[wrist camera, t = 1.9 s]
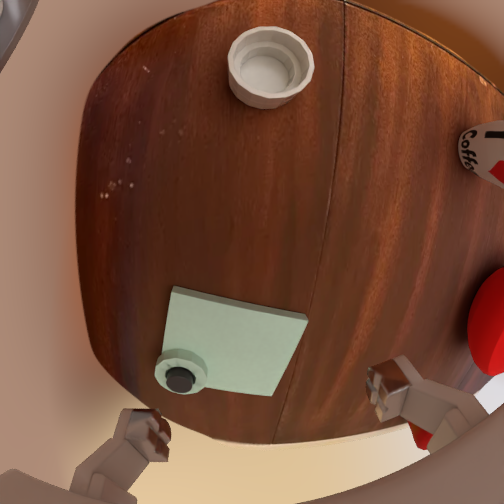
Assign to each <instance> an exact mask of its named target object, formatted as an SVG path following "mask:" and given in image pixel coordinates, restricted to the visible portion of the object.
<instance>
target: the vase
mask: <svg viewBox="0 0 504 504" xmlns="http://www.w3.org/2000/svg"><path fill="white" fill-rule="evenodd" d="M467 333H468V344H469V348H470V351H471V354H472V357H473V360H474V362H475V364H476V365H477V366H478V367H479V368H480V370H481V371H482V372H483V373H485V374H487V375H490V376H495V375H498V374H500V373H503V372H504V267H502V268H500V269H498V270H497V271H495V272H494V273H493V274H492V275H490V276H489V277H488V278H487V279H486V280H485V281H484V282H483V284H482V285H481V287H480V288H479V290H478V291H477V293H476V295H475V297H474V299H473V302H472V304H471V308H470V311H469V317H468V324H467Z"/></svg>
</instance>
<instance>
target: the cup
mask: <svg viewBox="0 0 504 504" xmlns="http://www.w3.org/2000/svg"><path fill="white" fill-rule="evenodd" d="M458 151H459V156H460V159H461V162H462V164H463V165H464V167H465V168H467V169H468V170H470V171H471V172H473V173H474V174H476V175H477V176H479V177H480V178H483V179H485V180H487V181H489V182H491V183H493V184H495V185H497V186H499V187H501V188H504V120H502V121H494V122H489V123H485V124H481V125H477V126H475V127H473V128H470V129H468V130H466V131H464V132H463V133H462V134H461V136H460V138H459V143H458Z"/></svg>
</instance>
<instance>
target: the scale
mask: <svg viewBox="0 0 504 504" xmlns="http://www.w3.org/2000/svg"><path fill="white" fill-rule="evenodd" d="M307 323H308V319H307V317H306V315H305V314H302V313H297V312H291V311H286V310H281V309H276V308H271V307H266V306H261V305H256V304H252V303H247V302H242V301H238V300H233V299H229V298H224V297H220V296H215V295H211V294H207V293H203V292H198V291H194V290H190V289H186V288H182V287H178V286H173V289H172V292H171V297H170V302H169V308H168V314H167V321H166V327H165V334H164V341H163V348H162V355H161V356H159V357H158V360H157V363H156V367H155V377H156V379H157V381H158V382H159V384H160V385H161V386H163V387H164V388H166V389H168V390H169V391H171V392H174V391H172V390H170V389H169V388H168V386H167V384H166V381H167V376H168V372H169V370H170V369H171V368H173V367H184V368H186V369H188V370H189V371H191V373H192V374H193V385H192V389H191V390H190V391H189V392H187V393H180V394H191V393H197V392H198V391H200V390H201V389H203V388H204V387H208V388H214V389H220V390H226V391H232V392H239V393H247V394H255V395H264V396H272V394H273V392H274V391H275V389H276V387H277V385H278V383H279V381H280V379H281V377H282V375H283V373H284V371H285V369H286V367H287V365H288V363H289V361H290V359H291V357H292V355H293V353H294V351H295V349H296V347H297V345H298V342H299V340H300V338H301V336H302V334H303V332H304V330H305V327H306V325H307ZM175 393H177V392H175Z"/></svg>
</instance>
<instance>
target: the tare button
mask: <svg viewBox="0 0 504 504" xmlns="http://www.w3.org/2000/svg"><path fill="white" fill-rule="evenodd" d="M166 384H167V386H168V388H169V389H170V390H172V391H174V392H177V393H187V392H189V391H190V390H191V389H192V385H193V374H192V373H191V371H189V370H188V369H186V368H184V367H173V368H171V369H170V370H169V372H168V376H167V381H166Z"/></svg>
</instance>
